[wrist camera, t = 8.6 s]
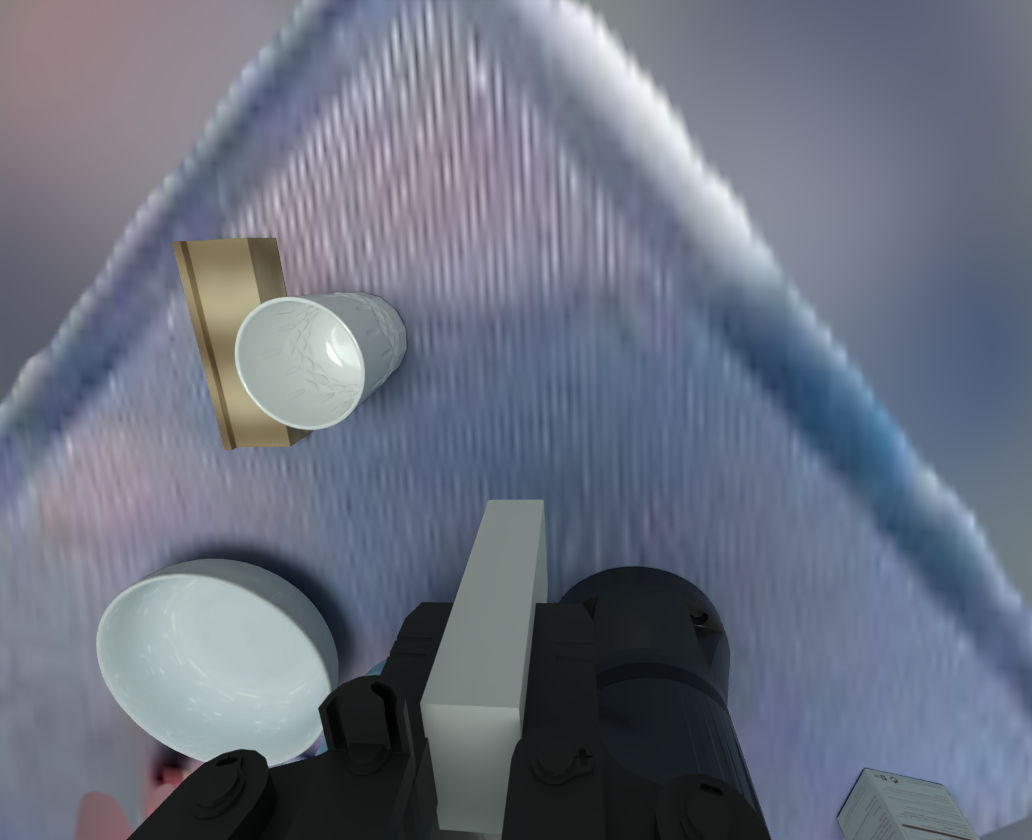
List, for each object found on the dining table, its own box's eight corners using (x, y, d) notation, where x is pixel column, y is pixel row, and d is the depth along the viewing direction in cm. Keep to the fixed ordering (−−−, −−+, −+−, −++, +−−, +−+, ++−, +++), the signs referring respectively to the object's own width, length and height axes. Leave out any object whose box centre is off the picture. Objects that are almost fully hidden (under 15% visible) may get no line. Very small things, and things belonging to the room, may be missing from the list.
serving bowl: (384, 702, 51) (356, 768, 45) (200, 708, 55) (149, 771, 48) (328, 520, 45) (286, 567, 38) (123, 539, 48) (53, 585, 42)
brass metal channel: (312, 430, 42) (286, 449, 38) (256, 431, 43) (224, 450, 39) (275, 238, 37) (241, 237, 33) (212, 242, 38) (171, 241, 34)
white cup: (433, 363, 39) (388, 401, 30) (347, 401, 41) (280, 448, 31) (384, 266, 37) (319, 273, 28) (296, 310, 39) (208, 331, 29)
